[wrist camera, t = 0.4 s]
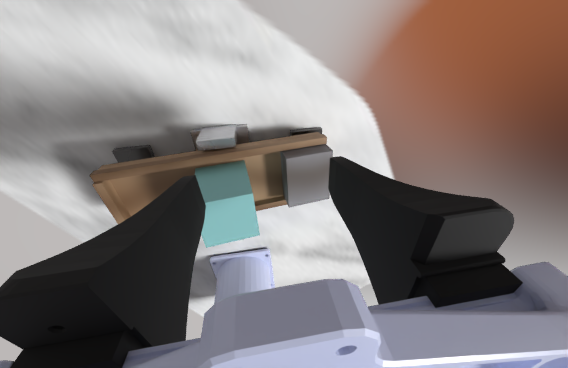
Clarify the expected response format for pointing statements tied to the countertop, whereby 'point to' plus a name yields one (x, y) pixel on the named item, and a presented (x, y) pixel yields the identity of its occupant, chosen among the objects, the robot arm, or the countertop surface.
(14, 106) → the countertop surface
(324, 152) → the beam
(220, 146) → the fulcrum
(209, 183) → the block
